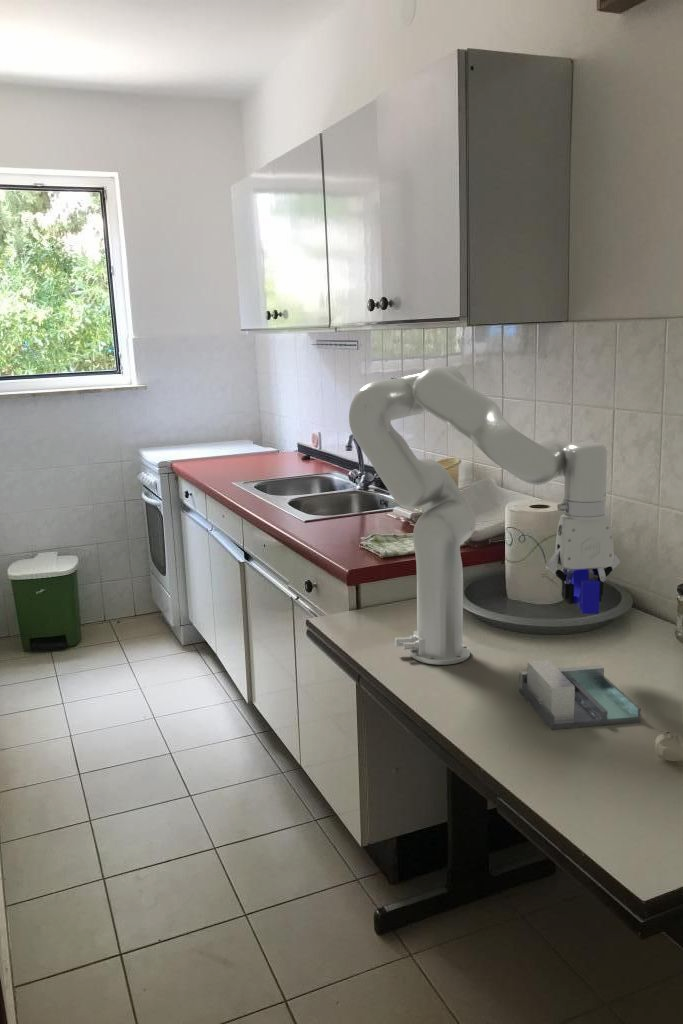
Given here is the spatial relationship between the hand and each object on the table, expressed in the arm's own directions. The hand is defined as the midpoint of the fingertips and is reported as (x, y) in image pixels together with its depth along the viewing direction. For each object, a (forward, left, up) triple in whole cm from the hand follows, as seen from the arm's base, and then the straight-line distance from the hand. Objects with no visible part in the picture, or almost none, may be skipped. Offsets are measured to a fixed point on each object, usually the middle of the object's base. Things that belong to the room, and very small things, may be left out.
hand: (582, 600), depth 161 cm
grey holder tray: (-6, -13, -16) cm, 21 cm away
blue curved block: (0, 0, -1) cm, 1 cm away
